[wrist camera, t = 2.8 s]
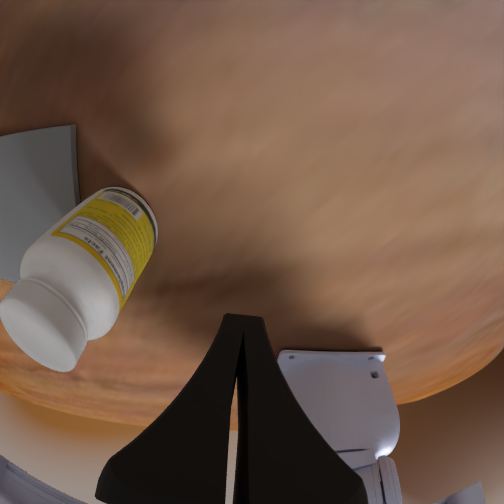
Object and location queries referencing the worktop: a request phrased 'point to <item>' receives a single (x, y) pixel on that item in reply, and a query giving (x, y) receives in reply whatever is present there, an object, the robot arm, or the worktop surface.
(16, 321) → the supplement bottle
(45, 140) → the mat
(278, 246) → the worktop surface
